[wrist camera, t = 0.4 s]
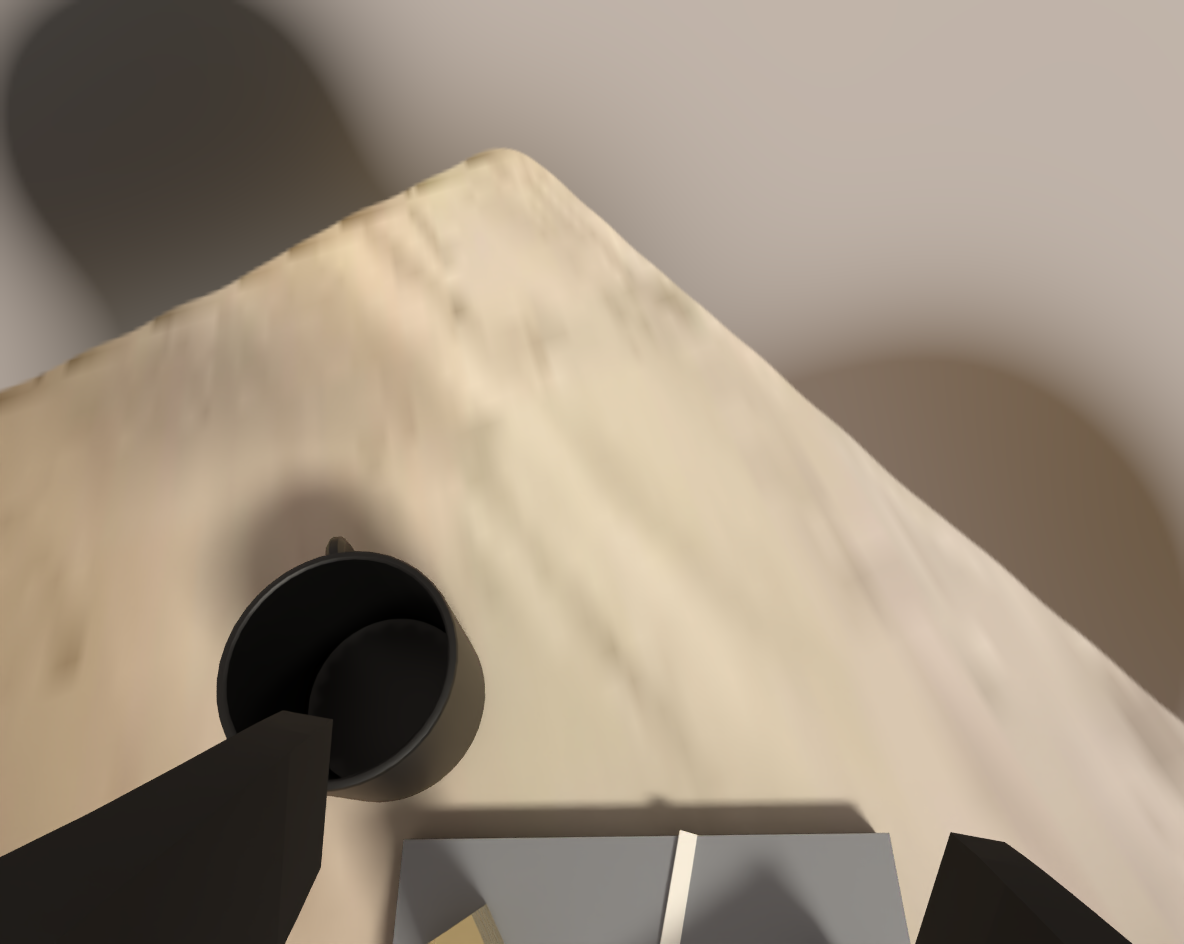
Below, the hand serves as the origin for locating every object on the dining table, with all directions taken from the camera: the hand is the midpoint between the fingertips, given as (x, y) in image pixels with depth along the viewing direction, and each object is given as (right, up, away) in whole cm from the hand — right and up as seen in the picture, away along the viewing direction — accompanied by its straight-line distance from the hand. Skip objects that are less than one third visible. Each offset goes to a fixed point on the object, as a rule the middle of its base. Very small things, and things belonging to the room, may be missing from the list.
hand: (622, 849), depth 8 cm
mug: (-11, -6, +28) cm, 30 cm away
